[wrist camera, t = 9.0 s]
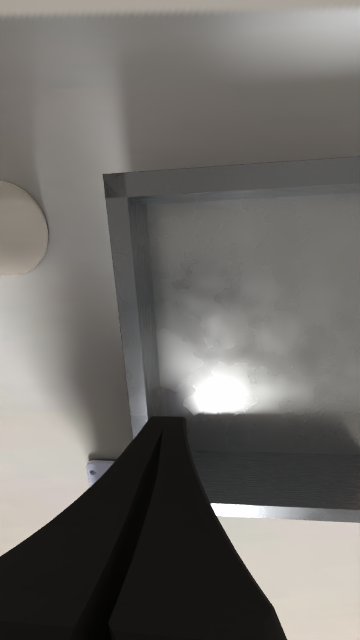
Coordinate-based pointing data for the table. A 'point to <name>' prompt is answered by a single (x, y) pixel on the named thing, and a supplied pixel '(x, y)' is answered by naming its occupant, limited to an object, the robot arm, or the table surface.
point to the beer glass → (20, 231)
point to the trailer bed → (247, 326)
